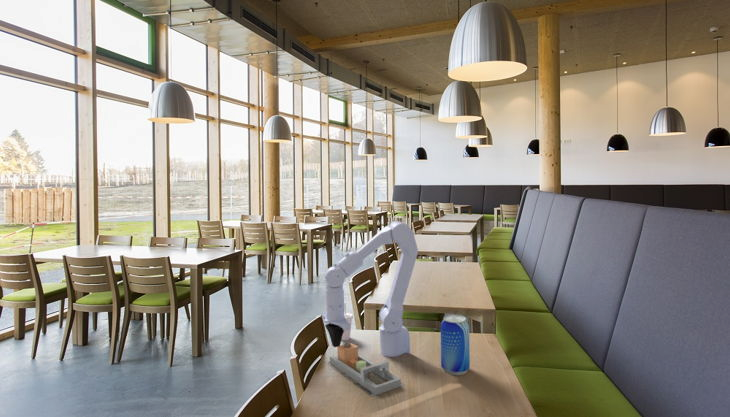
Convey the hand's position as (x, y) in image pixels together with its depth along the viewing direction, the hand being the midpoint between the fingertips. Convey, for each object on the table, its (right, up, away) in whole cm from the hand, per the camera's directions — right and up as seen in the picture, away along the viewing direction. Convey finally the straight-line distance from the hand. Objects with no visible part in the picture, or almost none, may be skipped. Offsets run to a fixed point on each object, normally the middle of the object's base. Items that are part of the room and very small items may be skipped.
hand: (336, 346), depth 141 cm
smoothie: (+2, -4, +16) cm, 16 cm away
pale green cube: (+8, -4, -12) cm, 15 cm away
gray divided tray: (+8, -5, -12) cm, 16 cm away
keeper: (+5, -4, -7) cm, 9 cm away
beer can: (+36, -5, -9) cm, 38 cm away
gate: (+12, -6, -18) cm, 22 cm away
